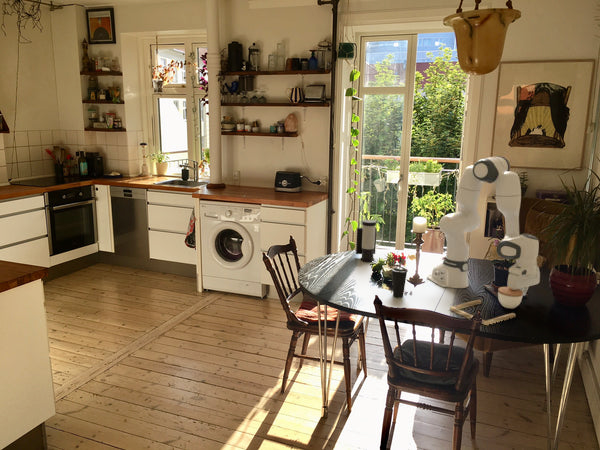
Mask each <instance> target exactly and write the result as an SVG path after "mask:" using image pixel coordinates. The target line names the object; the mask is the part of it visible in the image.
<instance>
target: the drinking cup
mask: <svg viewBox="0 0 600 450" xmlns="http://www.w3.org/2000/svg"><path fill="white" fill-rule="evenodd" d="M401 265H402V256H400V257H399V265H398V266H394V267H392V268H391V273H392V296H393V297H394V298H399V299H401V298H403V297H404V293H405V286H406V281H407V273H408V269H407V268H405V267H403V266H401Z"/></svg>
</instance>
